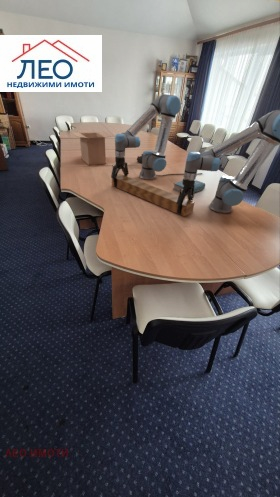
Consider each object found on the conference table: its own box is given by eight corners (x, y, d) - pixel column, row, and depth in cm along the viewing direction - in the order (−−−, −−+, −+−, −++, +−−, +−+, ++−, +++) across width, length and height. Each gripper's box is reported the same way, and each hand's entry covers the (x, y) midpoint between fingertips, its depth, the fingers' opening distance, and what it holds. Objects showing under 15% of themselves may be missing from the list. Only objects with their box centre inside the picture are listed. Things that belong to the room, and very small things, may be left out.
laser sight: (156, 165, 238) (157, 155, 232) (135, 163, 241) (136, 153, 235) (157, 163, 245) (158, 153, 240) (137, 160, 248) (138, 151, 242)
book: (188, 183, 198) (190, 178, 195) (204, 189, 190) (205, 183, 187) (173, 189, 185) (174, 183, 182) (188, 195, 176) (190, 189, 173)
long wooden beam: (111, 185, 182) (111, 176, 178) (120, 182, 188) (120, 173, 184) (184, 216, 145) (186, 206, 141) (192, 211, 152) (194, 201, 147)
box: (116, 165, 229) (116, 136, 213) (83, 168, 214) (80, 137, 198) (102, 154, 259) (101, 128, 243) (71, 156, 244) (68, 129, 228)
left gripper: (112, 160, 160) (112, 189, 174) (133, 155, 174) (132, 182, 188) (105, 157, 164) (106, 186, 178) (127, 153, 178) (126, 180, 191)
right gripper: (184, 184, 128) (178, 218, 142) (203, 176, 142) (196, 207, 155) (174, 181, 132) (169, 214, 145) (193, 173, 146) (187, 204, 159)
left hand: (120, 184), depth 183 cm, fingers closed on long wooden beam, 10 cm apart
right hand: (183, 211), depth 150 cm, fingers closed on long wooden beam, 10 cm apart
